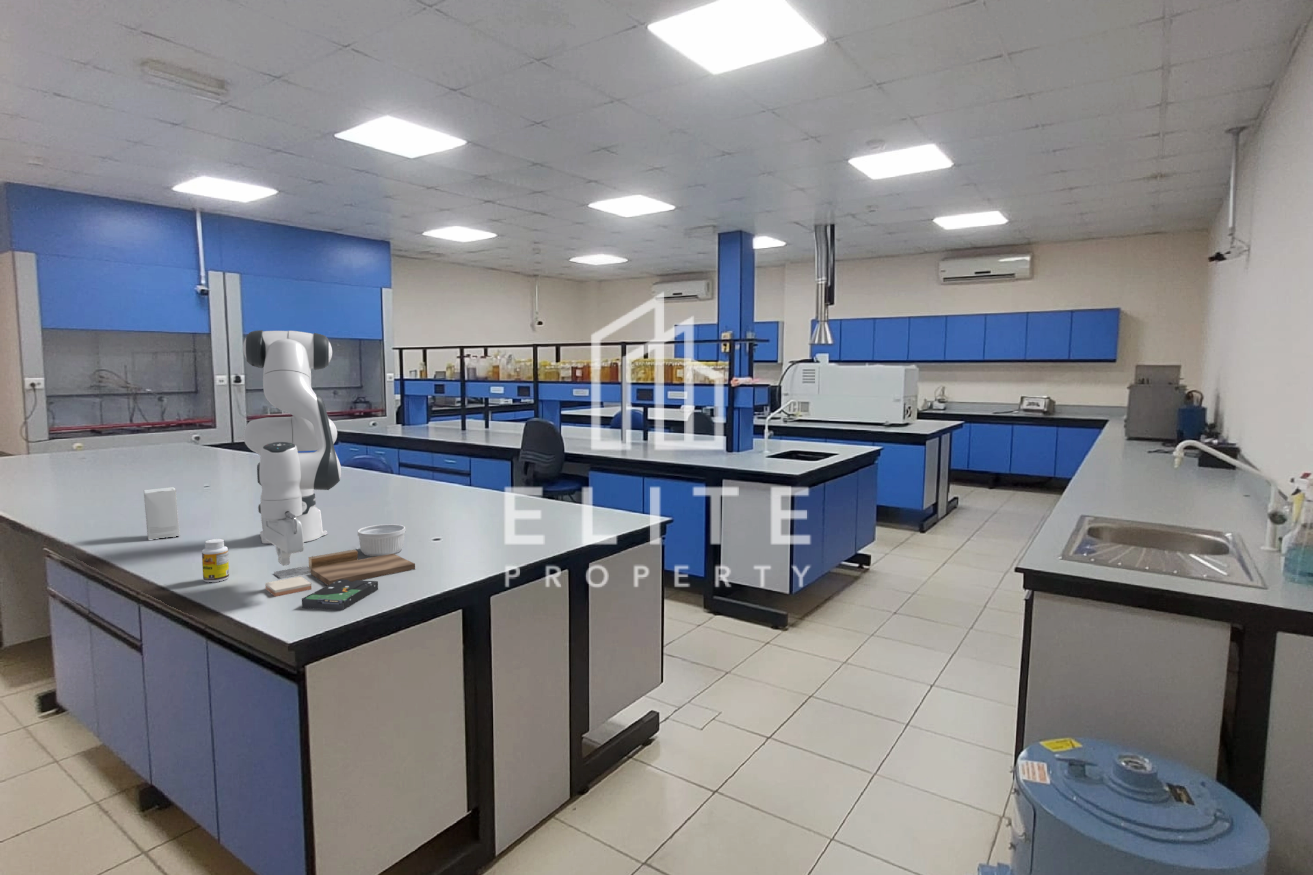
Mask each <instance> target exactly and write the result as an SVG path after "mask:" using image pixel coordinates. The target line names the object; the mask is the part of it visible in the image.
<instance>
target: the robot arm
mask: <svg viewBox="0 0 1313 875" xmlns="http://www.w3.org/2000/svg"><path fill="white" fill-rule="evenodd" d="M242 351H243V352H242V353H243V355H244V358H245V359H246V363H248V364H249V365H250V366H252V367H256V368H257V369H258V368H259V369H263V374H262V376H263V377H262V385H263V386H262V387H263V388H262V389H263V395H264V397H265V399H266V400H267V401H268V402H269V403H270V405H271V406H273V407H275V408H276V409H278V410H279V411H282V412H284V413H287V414H290V415H292V416H274V417H268V416H267V417H262V418H257V419H251V420H249V422H247V423H246V425H245V427H244V430H243V435H242V437H243V440H244V441H243V442H244V444H245V445H246V447H247V448H248V449H249V450H251V451H252V452H254V453H256V455H259V457H260V458H259V462H258V463H257V465H256V475H257V478H256V479H257V483H258V484H259V485H260V487H261V494H260V503H259V504H258V505H257V509H258V510H257V511H258V513H259V514H260V519H261V520H260V521H261V528H262V531H259V536H260V539H261V540H260V541H261V544H263V545H264V544H266V545H267V544H272V545H274V546H275V551H276V555H277V562H278V564H280V565H281V566H289V565H290V563H291V555H292V554H297V553H298V554H299V553H302V552H303V551H304V548H305V542H306V543H307V542H312V541H314V540H318V539H319V538H321V537H322V536H326V535H328V531H327V530H326V529H325V530H324V529H323V521H322V511H321V509H319V508H318V507H317V506H316V503H317V502H316V500H317V498H316V494H315V493H314V490H315V491H317V490H318V491H329V490H331V489H333V488H334V487H335V486H336V485H338V483H339V482H340V481H341V478H342V466H341V463H340V459H339V458H338V457H339V456H338V454H337V452H336V449H335V446H334V445H335V442H336V441H337V438H338V430H337V427H336V424H335V423H334V421H333V420H331V419H330V418H329V416H328V413H327V408H326V404H325V401H324V399H323V398H322V396H321V395H318V394H316V393H315V391H314V390H313V388H312V373H311V372H312V369H313V371H314V370H315V371H318V370H324V369H325V368H327V367H328V366H329V364H330V362H331V360H332V357H333V348H332V344H331V342H330V340H329V338H328V337H327V336H326V335H324V334H321V333H317V332H314V333H310V332H305V331H297V330H265V331H263V329H260V330H253V331H249V332H248V334H246V337H245V338H244V340H243V344H242ZM311 451H312V452H311Z"/></svg>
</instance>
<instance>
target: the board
mask: <svg viewBox="0 0 1313 875" xmlns="http://www.w3.org/2000/svg"><path fill="white" fill-rule="evenodd" d="M411 569H413V570H416V563H414V562H413V561H410V560H409V559H406V558H403V557H401V556H399V555H397V554H396V553H395V554H388V555H382V556H370V557H366V558H362V559H358V560H355V561H350V562H344V563H339V564H333V565H328V566H322V567H317V568H311V573H310V575H311V576H313V577H314V578H316V579H317V580H319V581H321V582H322V583H324V584H325V585H326V586H328V585H330V584H332V583H334V582H335V581H337V580H340V579H346V580H349V581H350V582H353V581H356V580H363V581H365V580H368V579H372V578H379V577H383V576H388V575H393V574H398V573H403V572H408V571H412V570H411Z"/></svg>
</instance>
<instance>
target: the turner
mask: <svg viewBox="0 0 1313 875" xmlns="http://www.w3.org/2000/svg"><path fill="white" fill-rule="evenodd" d="M358 554H359V552H358V550H356V549H349V550H343V551H338V552H333V553H332V552H331V553H327V554H320V555H313V556H308V566H307V565H304V566H299V567H293V568H287V569H282V570H275V571H273V574H274V576H276V577H278V578H279V579H280V580H283V579H289V578H294V577H299V576H303V575H304V576H305V575H308V574H309V575H311V568H317V567H322V566H328V565H333V564H339V563H344V562H350V561H355V560H359V559H358V558H359V556H358Z"/></svg>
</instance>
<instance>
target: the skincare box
mask: <svg viewBox="0 0 1313 875" xmlns="http://www.w3.org/2000/svg"><path fill="white" fill-rule="evenodd" d="M143 500H144V512H145V521H146V533H147V534H146V535H147V538H148V540H149V539H156V538H163V537H173V538H177V537H176V536H179V537H180V536H181V535H180V522H179V511H178V499H177V489H176V488H175V487H174V486H171V487H170V486H169V487H161V488H152V489H151V488H150V489H144V490H143Z"/></svg>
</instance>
